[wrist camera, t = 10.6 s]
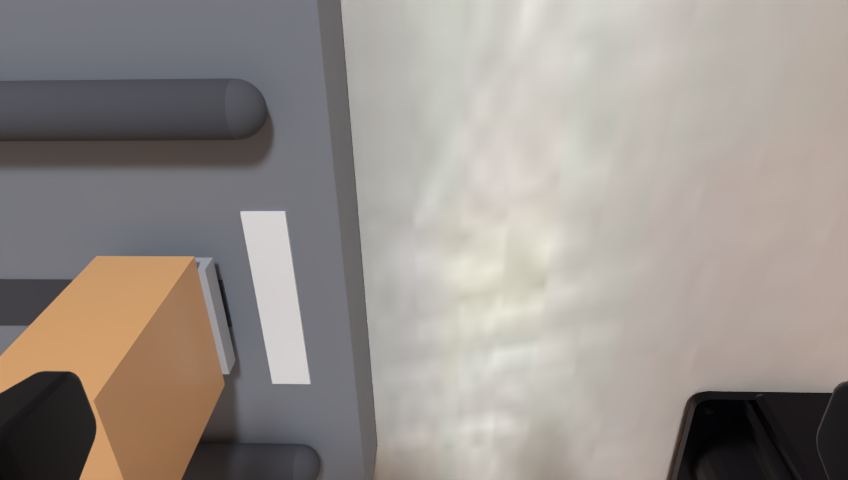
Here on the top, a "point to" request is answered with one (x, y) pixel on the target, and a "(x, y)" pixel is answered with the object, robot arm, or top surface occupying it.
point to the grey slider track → (158, 121)
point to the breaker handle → (135, 358)
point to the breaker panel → (209, 202)
